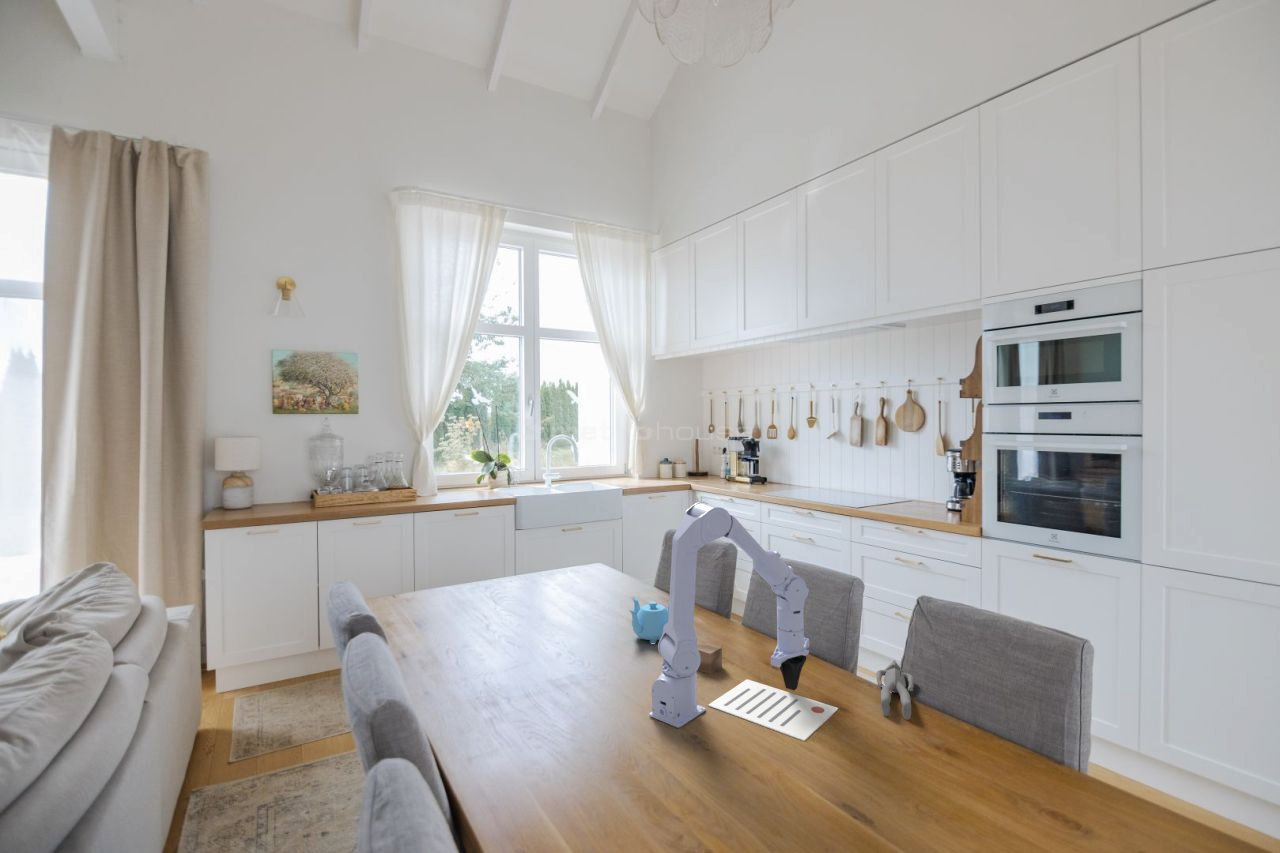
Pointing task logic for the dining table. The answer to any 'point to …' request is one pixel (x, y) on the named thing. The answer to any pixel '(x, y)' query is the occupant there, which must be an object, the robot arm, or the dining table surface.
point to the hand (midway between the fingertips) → (791, 688)
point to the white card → (775, 709)
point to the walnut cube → (710, 658)
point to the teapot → (649, 620)
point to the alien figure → (895, 688)
